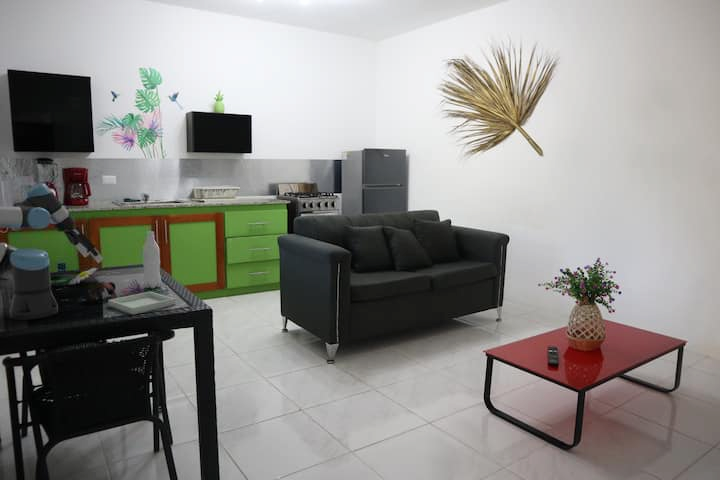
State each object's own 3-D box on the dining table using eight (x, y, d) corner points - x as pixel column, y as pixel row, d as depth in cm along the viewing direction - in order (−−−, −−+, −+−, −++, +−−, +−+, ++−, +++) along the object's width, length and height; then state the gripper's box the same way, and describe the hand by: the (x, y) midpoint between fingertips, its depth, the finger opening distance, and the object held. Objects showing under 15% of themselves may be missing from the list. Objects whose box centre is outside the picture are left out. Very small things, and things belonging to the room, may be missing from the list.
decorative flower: (25, 297, 220) (101, 279, 237) (22, 286, 219) (99, 269, 236) (23, 293, 230) (96, 276, 247) (20, 282, 229) (94, 266, 246)
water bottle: (146, 285, 235) (144, 230, 231) (163, 285, 236) (160, 230, 232) (141, 289, 228) (139, 232, 224) (158, 289, 229) (156, 232, 225)
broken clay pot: (111, 303, 207) (99, 287, 204) (93, 312, 209) (80, 296, 206) (126, 289, 218) (114, 273, 215) (109, 297, 220) (97, 281, 217)
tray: (132, 314, 190) (132, 308, 190) (108, 306, 201) (108, 300, 201) (175, 304, 204) (175, 298, 204) (150, 297, 215) (150, 291, 214)
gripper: (81, 216, 200) (114, 257, 211) (57, 209, 216) (89, 247, 228) (64, 228, 196) (99, 269, 208) (41, 220, 212) (74, 258, 224)
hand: (94, 258), depth 218 cm, fingers open, 13 cm apart
